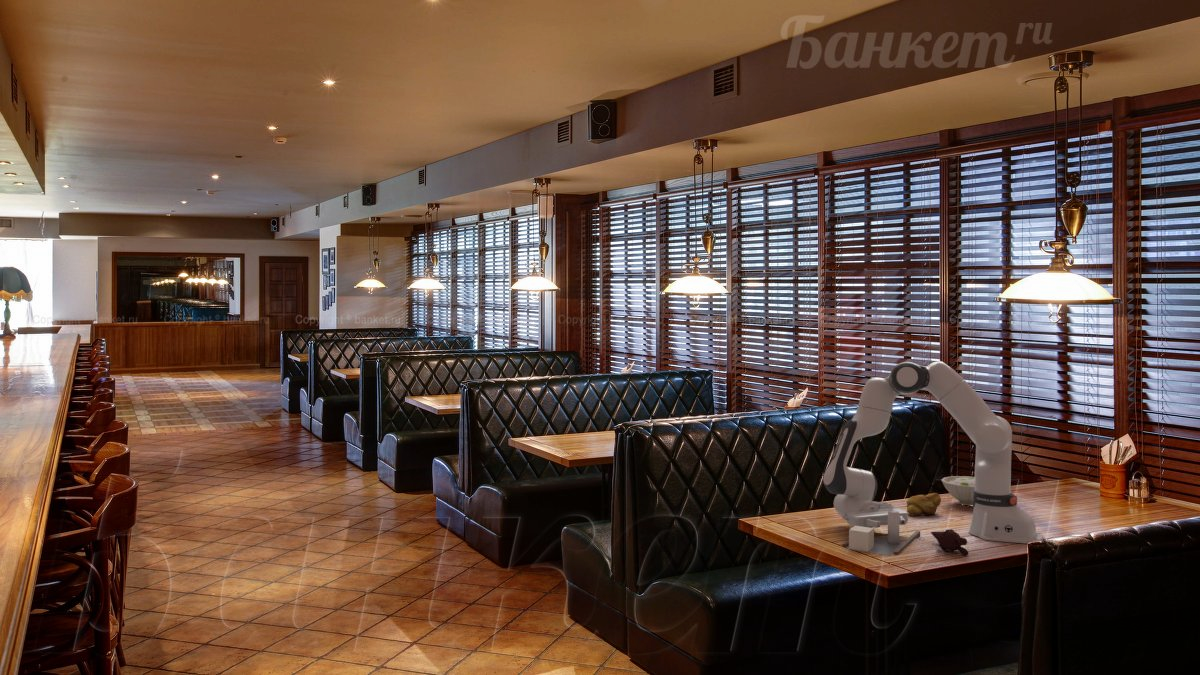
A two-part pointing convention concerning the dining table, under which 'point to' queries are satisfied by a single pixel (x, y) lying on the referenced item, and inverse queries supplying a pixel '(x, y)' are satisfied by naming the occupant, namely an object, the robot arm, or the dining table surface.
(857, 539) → the block
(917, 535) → the rails
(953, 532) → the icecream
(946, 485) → the bowl
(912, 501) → the bread roll
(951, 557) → the dining table surface
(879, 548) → the board
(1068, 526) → the dining table surface
